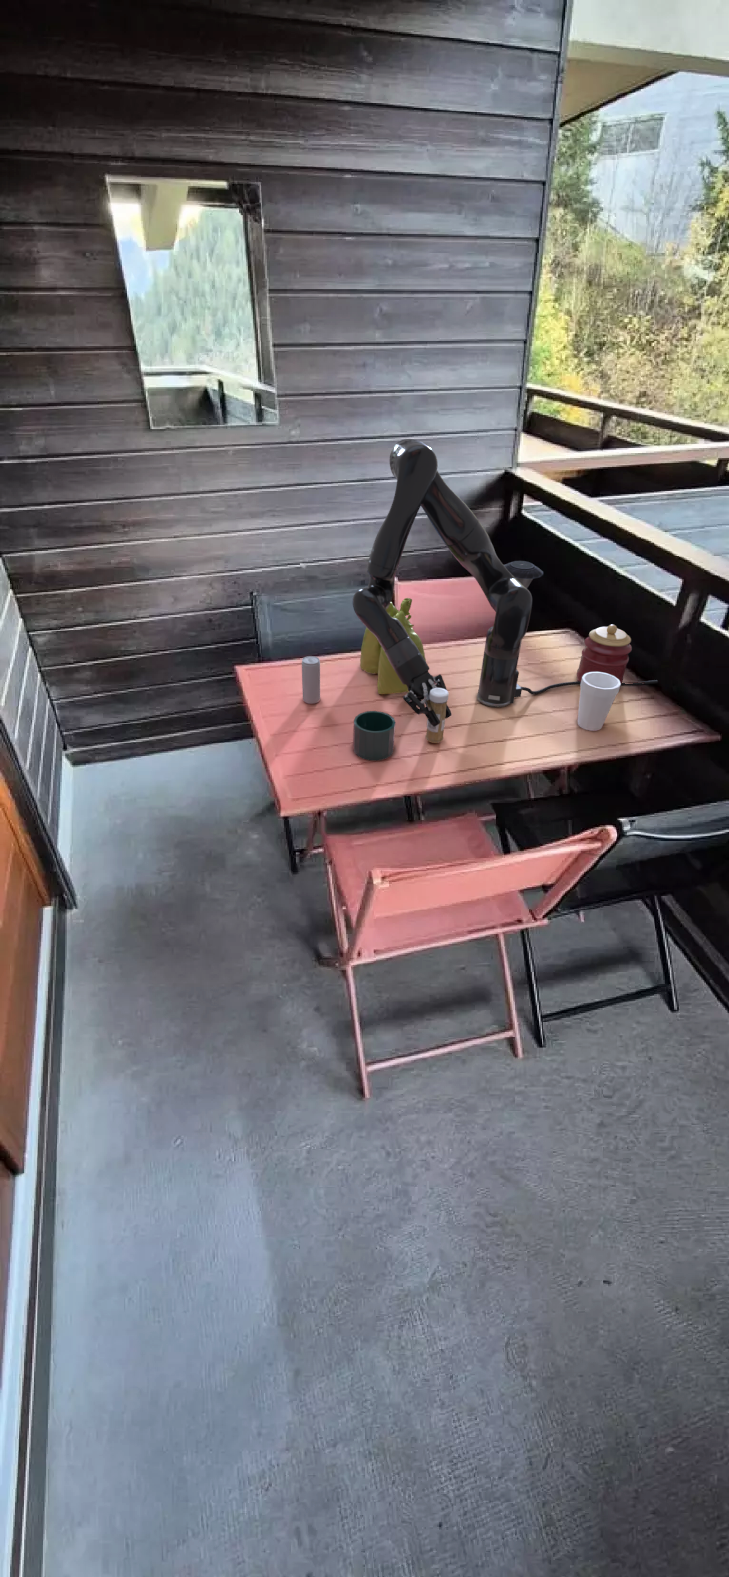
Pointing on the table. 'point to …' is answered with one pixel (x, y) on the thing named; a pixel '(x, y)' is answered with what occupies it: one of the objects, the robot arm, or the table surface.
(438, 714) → the sprinkles bottle
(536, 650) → the table surface
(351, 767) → the table surface
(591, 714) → the foam cup
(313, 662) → the beverage can
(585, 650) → the kitchen canister
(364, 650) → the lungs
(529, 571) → the solar garden light
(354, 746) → the cup
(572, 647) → the table surface
